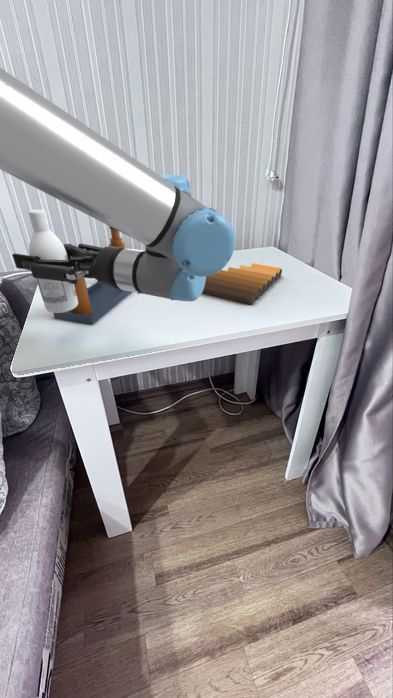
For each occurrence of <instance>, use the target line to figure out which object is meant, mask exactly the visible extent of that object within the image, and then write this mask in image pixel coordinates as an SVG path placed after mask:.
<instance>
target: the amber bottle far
mask: <svg viewBox="0 0 393 698" xmlns="http://www.w3.org/2000/svg"><path fill="white" fill-rule="evenodd" d="M108 228H109V230H110V235H111V238H110V239H109V242H110V243H109V244H108V247H117V248H123V249H127V245H126V243H125V242H124V241H123V237H121V234H120V233H121V232H120V231H118V230H116V229H114V228H112V227H110V226H108Z"/></svg>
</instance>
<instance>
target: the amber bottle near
mask: <svg viewBox="0 0 393 698" xmlns="http://www.w3.org/2000/svg"><path fill="white" fill-rule="evenodd" d="M62 244H63V243H62ZM63 246H68V247H70V246H74V245H73V244H72V243H64V244H63ZM70 257H71V258H72V256H70ZM76 266H77V262H76ZM77 270H78V269H77ZM77 281H78V283H76V284H74V286H75V291H76V295H77V299H78V305H77V306H76V307H75V308H74V309H72V313H77V314H83V315H89V314H90V313H91V312H92V309H91V305H90V300H89V296H88V291H87V288H88V287H87V283H86V278H84V277H80V278H77Z"/></svg>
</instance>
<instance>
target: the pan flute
mask: <svg viewBox="0 0 393 698" xmlns="http://www.w3.org/2000/svg"><path fill="white" fill-rule="evenodd" d="M282 274H283V269H282V268H281V267H276V266H271V265H264V264H259V263H255V262H252V263H251V265H250V266H248V265H242V264H240V266H239V268H237V267H230V266H229V267H228V268H227V270H224V269H222V270H220V271H219V272H217V273H216V274H213V275H210V276H206V281H205V286H204V289H203V292H202V294H205V295H210V296H213V297H218V298H222V299H226V300H230V301H233V302H238V303H242V304H246V305H251V306H252V305H253V304H255V302H256V301H258V300H259V299H260V298H261V296H263V295H264V294H265V292H267V291H268V290H269V289H270V288H271V287H272V286H273V285H274V284H276V282H278V280H280V279H281V277H282Z"/></svg>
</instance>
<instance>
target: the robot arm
mask: <svg viewBox="0 0 393 698" xmlns="http://www.w3.org/2000/svg"><path fill="white" fill-rule="evenodd" d="M0 170H1V171H3V172H4V173H6V174H8V175H10V176H12V177H13V178H16V179H17V180H20V181H22V182H24V183H26V185H27V184H28V185H29V186H31V187H33V188H35V189H37V190H39V191H41V192H43V193H45V194H47V195H48V196H50V197H52V198H54V199H56V200H58V201H60V202H61V203H64V204H66V205H68V206H70V207H72V208H74V209H75V210H77V211H80V212H81V213H83V214H85V215H87V216H89V217H91V218H93V219H95V220H97V221H99V222H101V223H103V224H104V225H107V226H108V227H109V226H110V227H112V228H114V229H116V230H118V231H119V233H122V234H124V235H126V236H128V237H129V238H131V239H133V240H135V241H136V242H138V243H141V244H143V245H145V250H143V249H142V250H141V249H135V248H126V249H123V248H117V247H109V246H104V247H101V246H97V245H95V246H94V245H90V244H85V243H79V244H77V245H73V246H70V247H68V246H64V248H65V250H66V253H67V257H68V260H41V259H40V257H38V256H30V255H28V254H20V253H16V252H15V253H13V254H12V258H13V261H14V262H13V263H14V264H15V267H16V269H20V270H25V271H26V270H27V271H30V272H31V276H32V278H34V279H36V278H39V279H48V280H56V281H65V282H68V283H71V284H76V283H78V281H77V278H80V277H84V278H85V279H94V280H96V282H99V283H100V284H101V285H102V286H104V287H108V288H113V289H119V290H120V289H122V290H126V291H131V293H136V294H137V295H141V294H142V295H147V296H153V297H159V298H162V299H168V300H170V301H179V302H190V303H191V302H195V301H196V300H198V299H199V298H200V297H201V295H203V293H202V292H203V289H204V286H205V281H206V276H210V275H213V274H216V273H217V272H219V271H220V270H224V268H225V267H226V266H227V264H228V263H229V262H230V261H231V258H232V256H233V254H234V251H235V247H236V236H235V232H234V231H235V230H234V229H233V227H232V224H231V222H229V220H228V219H227V218H226V217H225V216H224V215H222V214H221V213H220V212H219V211H217V210H216V209H214V208H212V207H208V206H206V205H204V204H203V203H201V202H199V201H198V200H197V199H195V198H194V197H193V196H192V193H191V186H190V179H188V177H187V176H186V175H183V174H182V175H181V174H159V173H157V172H156V171H154V170H152V169H151V168H150V167H148V166H147V165H145V163H142V162H141V161H139V160H138V159H136V158H135V157H133V156H132V155H131V154H129V153H127V152H126V151H124V150H123V149H121V148H120V147H119V146H117V145H116V144H115V143H113V142H111V141H110V140H108V139H107V138H105V137H104V136H103V135H102V134H100V133H98V132H97V131H95V130H93V129H92V128H90V127H89V126H87V124H85V123H83V122H81V121H80V120H79V119H78V118H75V117H74V116H73V115H71V114H70V113H69V112H67V111H66V110H64V109H62V108H61V107H59V106H58V105H56V104H55V103H53V102H52V101H50V100H49V99H48V98H46V97H45V96H43V95H42V94H41V93H39V92H37V91H36V90H34V89H33V88H31V87H30V86H29V85H28V84H26V83H24V82H22V81H21V80H20V79H18V78H16V77H15V76H14V75H12V74H11V73H9V72H8V71H7V70H4V69H3V68H2V67H0ZM110 227H109V228H110ZM70 256H72V258H71V257H70ZM76 262H77V266H76ZM77 269H78V270H77Z"/></svg>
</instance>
